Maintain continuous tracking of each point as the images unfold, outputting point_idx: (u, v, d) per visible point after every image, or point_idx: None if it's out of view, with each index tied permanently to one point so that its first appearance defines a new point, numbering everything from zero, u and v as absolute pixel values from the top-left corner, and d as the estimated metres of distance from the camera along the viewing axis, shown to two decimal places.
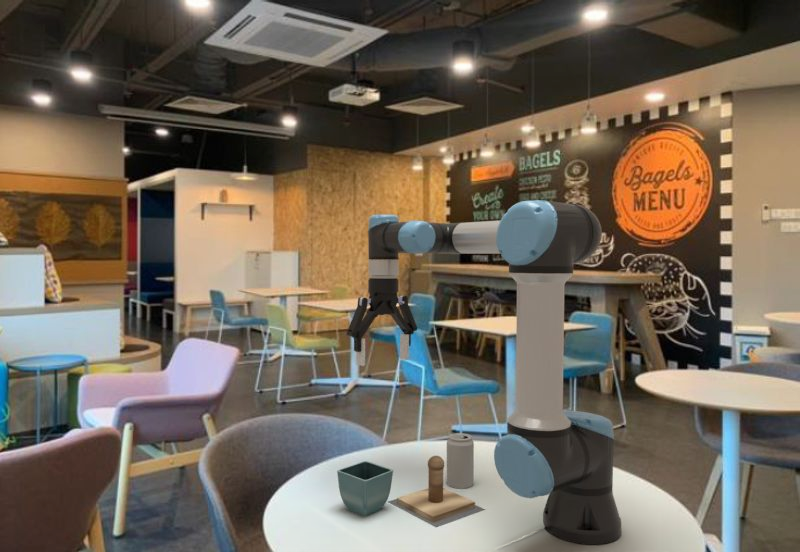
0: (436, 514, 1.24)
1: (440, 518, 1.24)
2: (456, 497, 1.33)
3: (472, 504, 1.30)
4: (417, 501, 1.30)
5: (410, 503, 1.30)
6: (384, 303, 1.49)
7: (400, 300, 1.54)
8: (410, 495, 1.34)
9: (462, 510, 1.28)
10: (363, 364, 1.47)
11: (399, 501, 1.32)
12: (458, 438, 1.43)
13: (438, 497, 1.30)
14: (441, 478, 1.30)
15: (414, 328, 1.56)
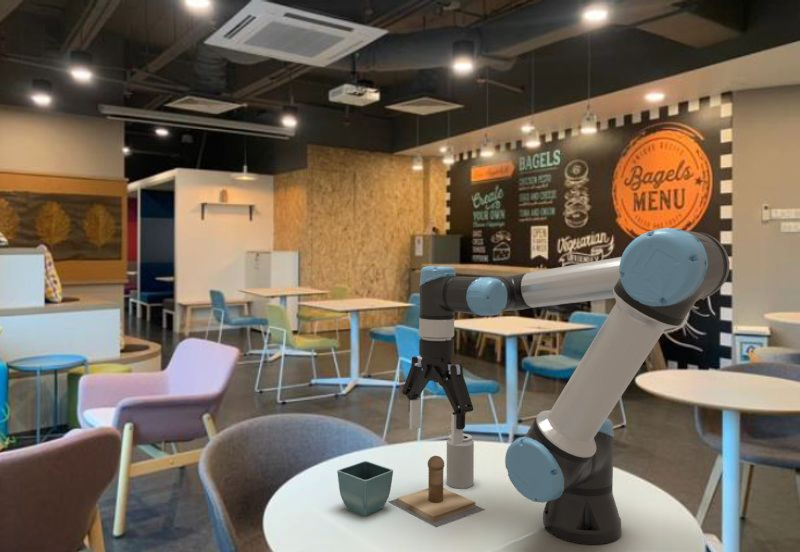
0: (436, 514, 1.24)
1: (440, 518, 1.24)
2: (456, 497, 1.33)
3: (472, 504, 1.30)
4: (417, 501, 1.30)
5: (410, 503, 1.30)
6: (425, 367, 1.30)
7: None
8: (410, 495, 1.34)
9: (462, 510, 1.28)
10: (410, 427, 1.36)
11: (399, 501, 1.32)
12: None
13: (438, 497, 1.30)
14: (441, 478, 1.30)
15: (461, 409, 1.23)
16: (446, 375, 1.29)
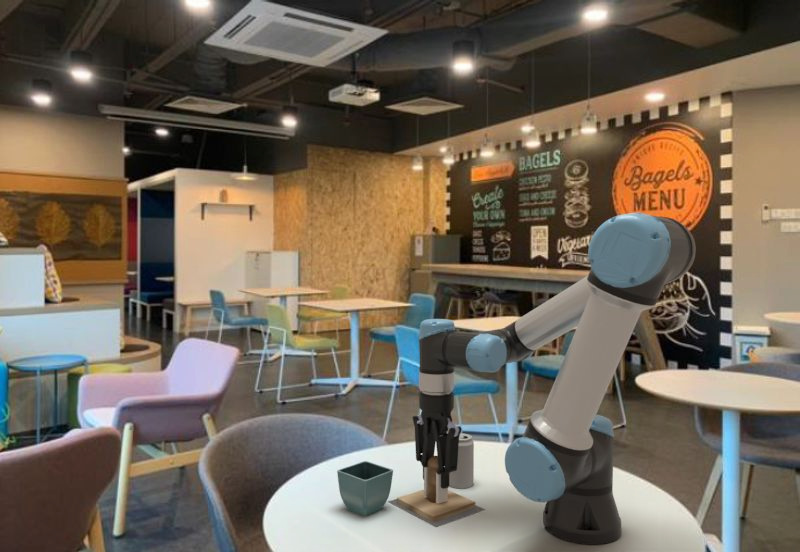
0: (436, 514, 1.24)
1: (440, 518, 1.24)
2: (456, 497, 1.33)
3: (472, 504, 1.30)
4: (417, 501, 1.30)
5: (410, 503, 1.30)
6: (425, 420, 1.31)
7: (449, 428, 1.27)
8: (410, 495, 1.34)
9: (462, 510, 1.28)
10: (424, 495, 1.32)
11: (399, 501, 1.32)
12: None
13: None
14: None
15: (445, 468, 1.27)
16: None
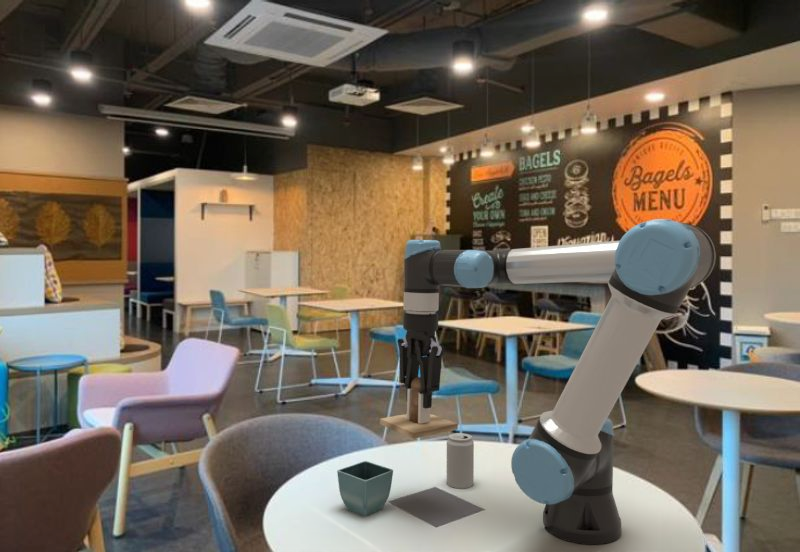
0: (417, 431, 1.24)
1: (421, 435, 1.24)
2: (439, 420, 1.32)
3: (454, 426, 1.29)
4: (400, 422, 1.30)
5: (392, 423, 1.29)
6: (409, 341, 1.30)
7: None
8: (393, 417, 1.34)
9: (444, 430, 1.28)
10: (407, 417, 1.32)
11: (382, 421, 1.32)
12: (458, 438, 1.43)
13: None
14: None
15: (427, 387, 1.27)
16: None
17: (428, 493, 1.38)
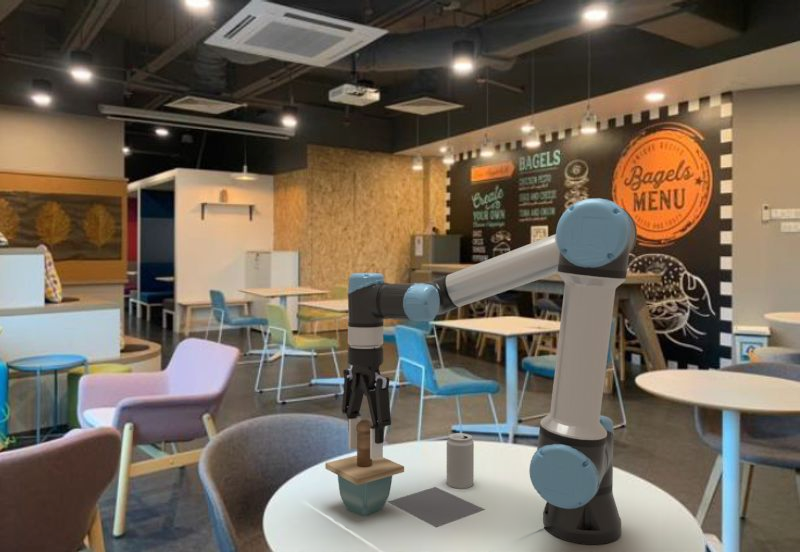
0: (361, 477, 1.22)
1: (365, 481, 1.22)
2: (386, 462, 1.31)
3: (401, 469, 1.28)
4: (345, 466, 1.28)
5: (337, 467, 1.27)
6: (354, 375, 1.29)
7: None
8: (340, 460, 1.32)
9: (390, 474, 1.26)
10: (349, 447, 1.32)
11: (327, 466, 1.30)
12: (458, 438, 1.43)
13: (366, 462, 1.28)
14: (369, 442, 1.28)
15: (378, 422, 1.23)
16: None
17: (428, 493, 1.38)
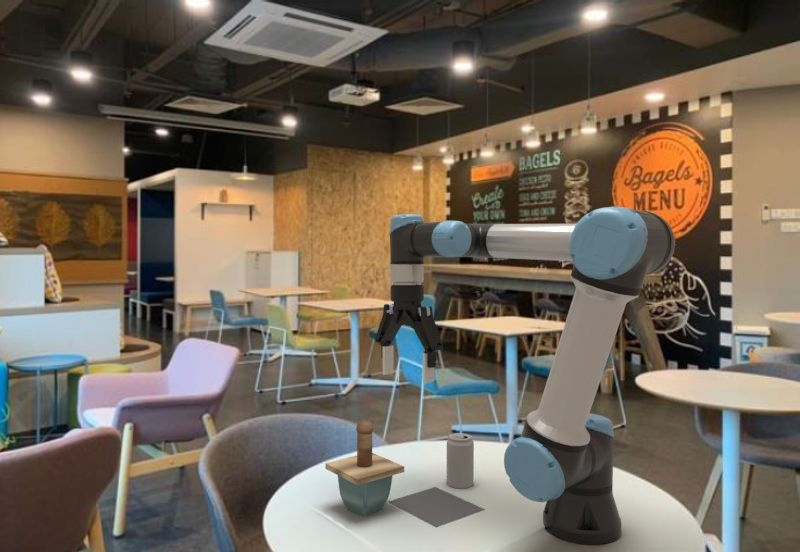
0: (361, 477, 1.22)
1: (365, 481, 1.22)
2: (386, 462, 1.31)
3: (401, 469, 1.28)
4: (345, 466, 1.28)
5: (337, 468, 1.27)
6: (397, 312, 1.36)
7: (421, 311, 1.33)
8: (340, 460, 1.32)
9: (390, 474, 1.26)
10: (383, 373, 1.41)
11: (327, 466, 1.30)
12: (458, 438, 1.43)
13: (366, 462, 1.28)
14: (369, 442, 1.28)
15: (431, 347, 1.29)
16: (417, 318, 1.35)
17: (428, 493, 1.38)
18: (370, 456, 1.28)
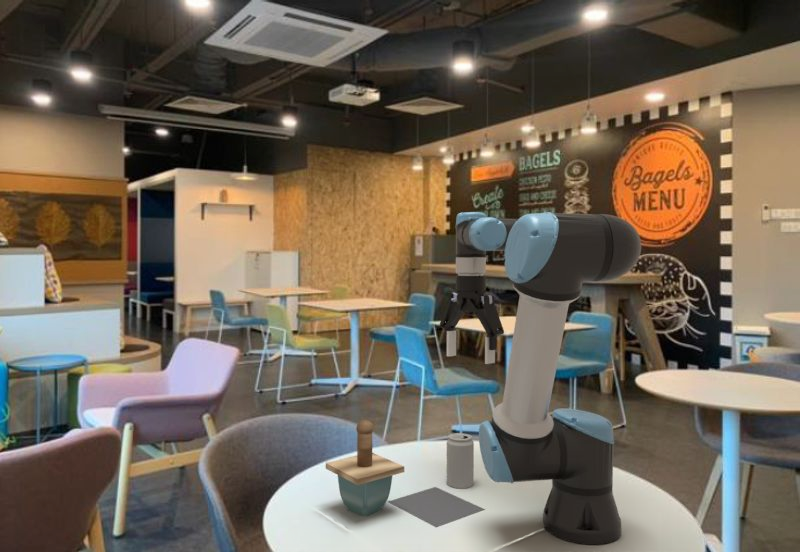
0: (361, 477, 1.22)
1: (365, 481, 1.22)
2: (386, 462, 1.31)
3: (401, 469, 1.28)
4: (345, 466, 1.28)
5: (338, 467, 1.27)
6: (461, 300, 1.51)
7: None
8: (340, 460, 1.32)
9: (390, 474, 1.26)
10: (447, 355, 1.57)
11: (327, 466, 1.30)
12: (458, 438, 1.43)
13: (366, 462, 1.28)
14: (369, 442, 1.28)
15: (493, 331, 1.44)
16: (479, 306, 1.50)
17: (428, 493, 1.38)
18: (370, 456, 1.28)
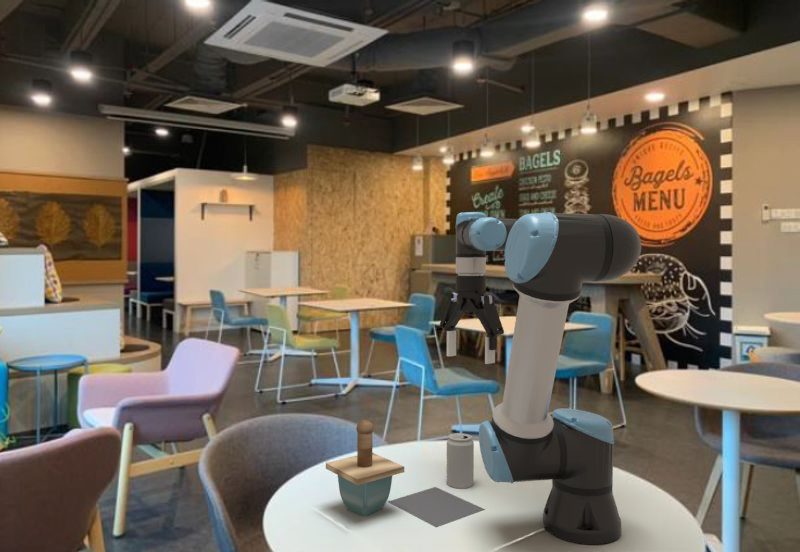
0: (361, 477, 1.22)
1: (365, 481, 1.22)
2: (386, 462, 1.31)
3: (401, 469, 1.28)
4: (345, 466, 1.28)
5: (338, 467, 1.27)
6: (461, 300, 1.51)
7: None
8: (340, 460, 1.32)
9: (390, 474, 1.26)
10: (447, 355, 1.57)
11: (328, 466, 1.30)
12: (458, 438, 1.43)
13: (366, 462, 1.28)
14: (369, 442, 1.28)
15: (493, 331, 1.44)
16: (479, 306, 1.50)
17: (428, 493, 1.38)
18: (370, 456, 1.28)
